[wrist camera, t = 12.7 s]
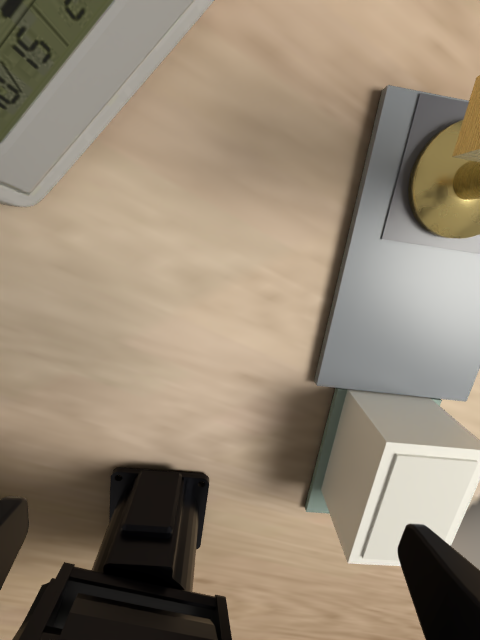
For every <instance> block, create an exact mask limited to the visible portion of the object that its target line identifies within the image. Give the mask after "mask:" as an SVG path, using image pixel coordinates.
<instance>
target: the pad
mask: <svg viewBox="0 0 480 640" xmlns="http://www.w3.org/2000/svg"><path fill="white" fill-rule="evenodd" d="M350 390H353V389H350ZM360 391H363V390H360ZM370 392H372V391H370ZM346 393H347V389H344V388H335V392H334V396H333V400H332V404H331V407H330V411H329V415H328V419H327V423H326V427H325V431H324V435H323V438H322V442H321V446H320V450H319V454H318V458H317V462H316V466H315V470H314V473H313V477H312V481H311V485H310V489H309V493H308V497H307V501H306V505H305V509H306V512H316V513H329V510H328V507H327V505H326V502H325V499H324V496H323V494H322V491H321V488H322V484H323V481H324V477H325V473H326V469H327V465H328V462H329V458H330V454H331V450H332V446H333V443H334V439H335V435H336V431H337V427H338V424H339V420H340V416H341V412H342V408H343V405H344V401H345V397H346ZM380 393H382V392H380ZM390 394H391V393H390ZM400 395H401V394H400ZM430 399H432V400H433V401H434V402H435V403H436V404H438V405H439V406H440V403H441V401H442V400H441V399H438V398H430Z"/></svg>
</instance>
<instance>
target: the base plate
mask: <svg viewBox="0 0 480 640" xmlns="http://www.w3.org/2000/svg"><path fill="white" fill-rule="evenodd" d="M468 103H469V101H467V100H462V99H456V98H451V97H446V96H441V95H436V94H431V93H426V92H421V91H416V90H411V89H406V88H400V87H395V86H390V85H388V86H386V87H385V88H384V89H383V90H382V92H381V96H380V101H379V105H378V109H377V114H376V118H375V122H374V126H373V131H372V135H371V139H370V144H369V148H368V152H367V156H366V161H365V165H364V169H363V174H362V178H361V182H360V186H359V191H358V195H357V199H356V203H355V208H354V212H353V216H352V221H351V225H350V229H349V233H348V238H347V242H346V246H345V251H344V255H343V259H342V263H341V268H340V272H339V276H338V281H337V285H336V289H335V293H334V298H333V302H332V306H331V310H330V315H329V319H328V323H327V328H326V332H325V336H324V340H323V345H322V349H321V353H320V358H319V362H318V366H317V370H316V375H315V379H314V382H315V383H316V385H317V386H325V387H335V388H344V389H353V390H363V391H372V392H382V393H391V394H401V395H410V396H419V397H429V398H438V399H448V400H457V401H467V399H468V396H469V394H470V391H471V389H472V386H473V384H474V381H475V378H476V376H477V373H478V371H479V368H480V234H479V235H476V236H473V237H469V238H460V239H456V238H444V237H439V236H436V235H434V234H432V233H430V232H428V231H427V230H425V229H424V228H423V227H422V226H421V225H420V224H419V223H418V221H417V220H416V218H415V217H414V215H413V212H412V210H411V207H410V203H409V196H408V187H409V179H410V175H411V171H412V168H413V165H414V163H415V161H416V159H417V157H418V155H419V154H420V152H421V150H422V149H423V148H424V146H425V145H426V144H427V143H428V142H429V141H430V139H431V138H432V137H434V136H435V135H436V134H437V133H438V132H440V131H441V130H443V129H444V128H446V127H448V126H450V125H452V124H454V123H457V122H459V121H461V120H464V116H465V113H466V110H467V107H468Z"/></svg>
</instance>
